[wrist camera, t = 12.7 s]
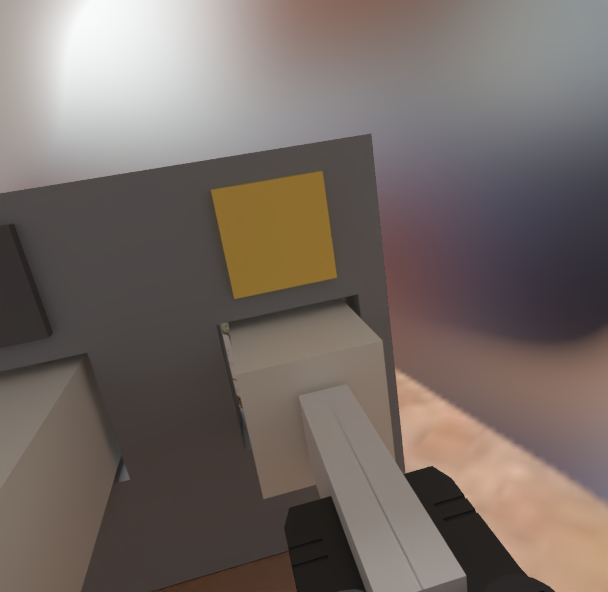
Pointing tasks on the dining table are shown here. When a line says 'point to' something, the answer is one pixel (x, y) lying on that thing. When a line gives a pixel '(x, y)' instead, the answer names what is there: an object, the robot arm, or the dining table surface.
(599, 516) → the dining table surface
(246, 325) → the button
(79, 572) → the button mid
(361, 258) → the light board
